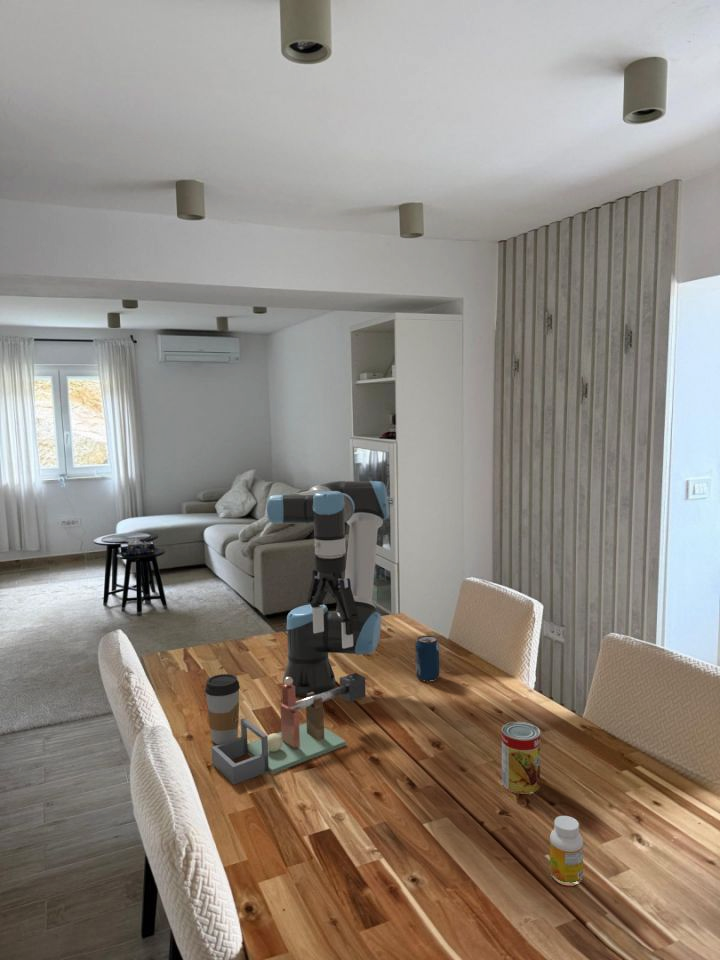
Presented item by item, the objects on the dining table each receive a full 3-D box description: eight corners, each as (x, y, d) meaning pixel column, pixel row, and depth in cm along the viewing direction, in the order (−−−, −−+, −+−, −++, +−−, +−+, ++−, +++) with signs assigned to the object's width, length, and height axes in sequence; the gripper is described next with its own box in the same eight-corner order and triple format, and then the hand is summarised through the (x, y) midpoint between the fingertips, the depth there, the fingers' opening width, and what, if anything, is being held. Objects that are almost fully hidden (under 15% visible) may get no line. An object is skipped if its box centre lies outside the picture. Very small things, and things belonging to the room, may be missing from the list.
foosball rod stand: (354, 713, 174) (352, 652, 172) (368, 721, 169) (367, 659, 167) (280, 740, 160) (277, 674, 159) (293, 749, 156) (290, 682, 154)
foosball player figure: (313, 734, 165) (311, 691, 164) (324, 742, 162) (323, 697, 160) (307, 736, 164) (305, 693, 163) (318, 744, 160) (316, 700, 159)
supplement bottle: (544, 866, 116) (545, 814, 115) (575, 864, 117) (575, 811, 116) (556, 888, 111) (557, 833, 110) (588, 886, 111) (588, 831, 110)
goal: (245, 751, 158) (244, 718, 157) (268, 771, 149) (267, 735, 148) (212, 763, 153) (210, 729, 152) (234, 784, 144) (232, 748, 143)
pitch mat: (313, 724, 171) (313, 720, 171) (345, 745, 160) (345, 741, 160) (242, 749, 159) (242, 745, 159) (272, 774, 148) (272, 769, 148)
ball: (277, 744, 159) (276, 728, 158) (285, 751, 156) (285, 734, 155) (262, 750, 156) (261, 733, 156) (270, 757, 153) (270, 740, 153)
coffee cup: (234, 748, 159) (231, 688, 158) (201, 745, 161) (198, 685, 160) (247, 731, 168) (244, 674, 166) (215, 729, 169) (213, 672, 168)
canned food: (546, 792, 138) (546, 737, 137) (510, 797, 137) (510, 741, 136) (530, 772, 146) (530, 719, 145) (496, 776, 145) (496, 723, 144)
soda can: (443, 676, 199) (442, 637, 198) (433, 684, 194) (432, 644, 192) (422, 671, 203) (421, 633, 202) (411, 679, 197) (411, 640, 196)
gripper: (292, 548, 172) (295, 629, 174) (345, 566, 151) (347, 657, 153) (317, 544, 176) (319, 623, 178) (372, 561, 155) (374, 650, 158)
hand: (332, 639), depth 166 cm, fingers open, 13 cm apart
